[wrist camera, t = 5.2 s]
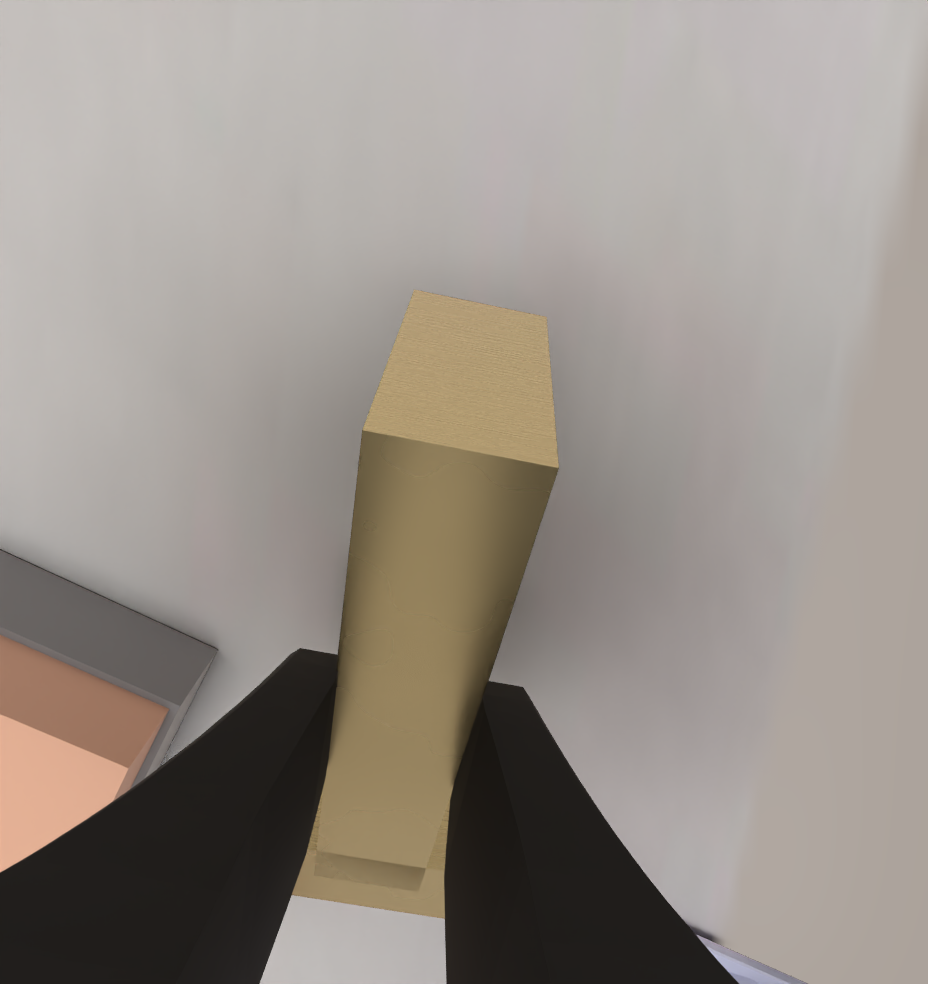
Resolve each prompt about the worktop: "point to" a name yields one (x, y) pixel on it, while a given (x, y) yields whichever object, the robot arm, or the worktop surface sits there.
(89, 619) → the housing
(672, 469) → the worktop surface
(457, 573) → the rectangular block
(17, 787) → the cover
